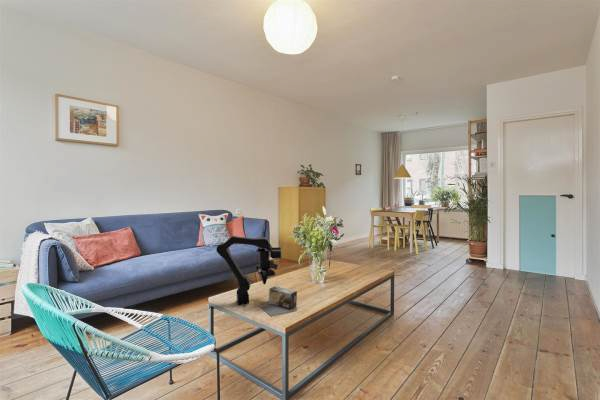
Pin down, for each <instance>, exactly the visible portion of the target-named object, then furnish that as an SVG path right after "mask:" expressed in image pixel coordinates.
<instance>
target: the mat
mask: <svg viewBox="0 0 600 400" xmlns="http://www.w3.org/2000/svg"><path fill="white" fill-rule="evenodd" d="M259 308H261V309H262V310H263V311H264V312H266V314H268V316H270V317H274V316H279V315H285V314H288V313H292V312H293V313H294V312H297V311H298V310H297V309H296V307H294V308H292V309H287V308H283V307H280V306H276V305H273V304H269V303H267V304H264V305H260V306H259Z"/></svg>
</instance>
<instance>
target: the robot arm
mask: <svg viewBox="0 0 600 400" xmlns="http://www.w3.org/2000/svg"><path fill="white" fill-rule="evenodd" d="M234 244H238V245H239V244H240V245H250V246H255V247H257V249H256V250H255V252H257V253H259V259H258V261H257V262H258V263H259V264H255V265H254V270H255V271H257V270H258V271H257V274H258V275H259V277H260V280H261V282H262V284H263V285H266V283H267V280H268V278H269V277H274V276H276V272H275V270H278V267H279V264H278V263H275V261H274V260H275V259H280V260H281V259H282V247H281V246H279V247H278V246H277V247H274V246H272V244H271V243H270V240H269V239H268V237H266V236H264V237H263V236H262V237H247V236H246V237H244V236H236V235H232V236H231V237H230V238H229V239H227V241H225V242H221V243H220V244H218V245H217V247H216V250H215V251H216V252H217V254H218V255H219V256H220V257H221V258H222V259H223V260H225V262H226V264H227V265H228V267H229V268H230V270H231V271H232V273H233V275H234V277H236V280H237V283H238V287H237V290H236V300H235V302H236V304H237V305H239V306H241V305H246V304H250V302H249V301H250V294H249V290H250V288H251V286H252V280H251V279H250V277H249V275H248V274H246V275H245V274H244V273H243V272H242V270H241V268H240V267H239V266H238V264H237V262H236V261H235V259H234V258H233V255H232V254H231V250H230V247H232V245H234ZM270 258H271V259H273V260H270Z"/></svg>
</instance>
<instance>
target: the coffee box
mask: <svg viewBox="0 0 600 400" xmlns="http://www.w3.org/2000/svg"><path fill="white" fill-rule="evenodd" d="M297 296H298V291H296V290H293V289H288V288H285V287H281V286H276V285H275V286H272V287H269V289H268V304H273V305H276V306H280V307H283V308H287V309H292V308H296V307H297V300H298V299H297V298H298V297H297Z"/></svg>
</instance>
